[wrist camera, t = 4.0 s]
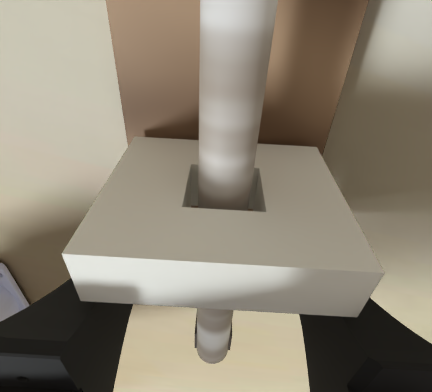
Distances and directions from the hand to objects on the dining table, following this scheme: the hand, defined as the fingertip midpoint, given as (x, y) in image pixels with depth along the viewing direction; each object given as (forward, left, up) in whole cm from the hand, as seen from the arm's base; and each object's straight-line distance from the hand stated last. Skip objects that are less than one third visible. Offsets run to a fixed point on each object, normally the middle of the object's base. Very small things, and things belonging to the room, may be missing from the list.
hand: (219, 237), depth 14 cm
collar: (+3, 0, -1) cm, 4 cm away
